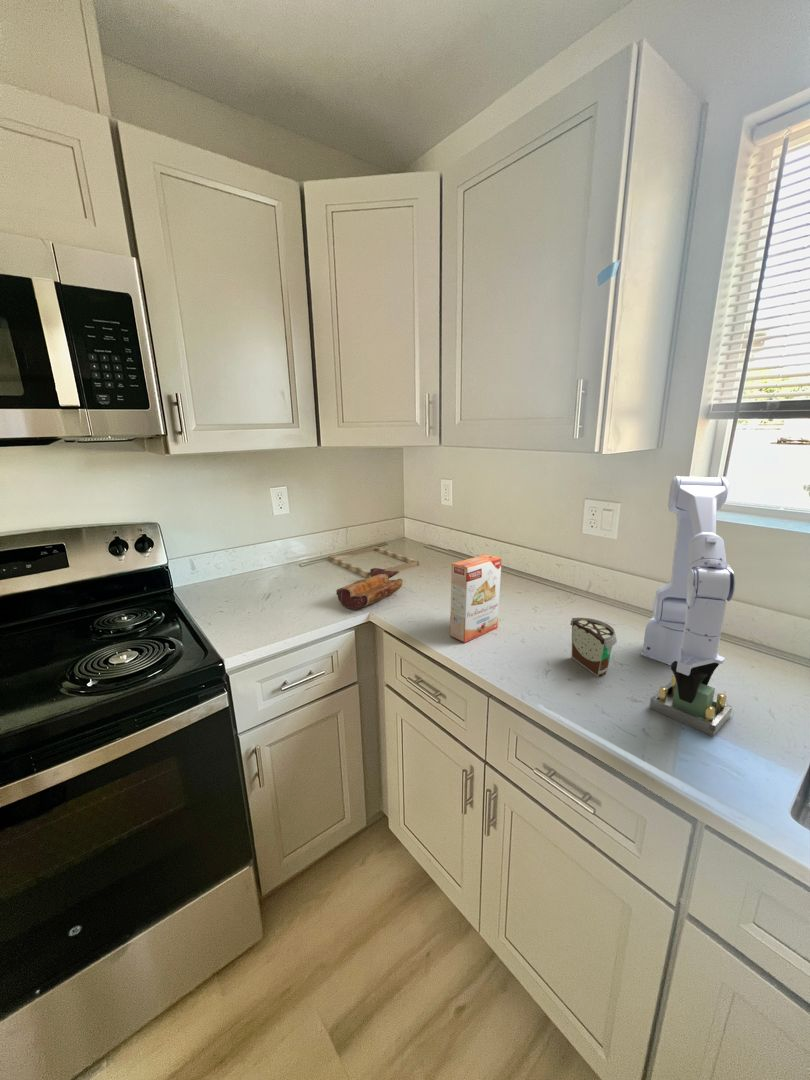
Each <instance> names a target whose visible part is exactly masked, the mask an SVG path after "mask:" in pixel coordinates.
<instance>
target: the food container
mask: <svg viewBox="0 0 810 1080" xmlns="http://www.w3.org/2000/svg"><path fill="white" fill-rule="evenodd" d="M569 626H571V658H572V659H573V660H575V662H576V663H578V664H580V665H581V666H582V667H583V668H585V669H586V670H588V671H589V672H590V673H591V674H593V675H595V676H596V677H597V678H600V677H603V676H605V675H606V674H607V672H608V669H609V668H608V667H609V663H610V659H611V655H612V648H613V646H614V645H616V643H617V634H616V632H615V628H614V627H612V626H611V625H609V623H606V622H604V621H601V620H598V619H595V618H594V619H593V618H590V617H572V618H571V620H570V625H569Z"/></svg>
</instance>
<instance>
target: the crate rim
mask: <svg viewBox="0 0 810 1080" xmlns="http://www.w3.org/2000/svg"><path fill="white" fill-rule="evenodd" d="M373 551H375V552H379V553H381V554H383V555H386V556H389V557H391V558H395V559H398V560H400V561H402V562H405V563H403V564H399V565H394V566H389V567H386V568H384V569H385V571H404V570H408V569H411V568H416V567H417V566H420V561H419V560H416V559H413V558H410V557H407V556H405V555H401V554H399V553H395V552H392V551H389V550H387V549H385V548H380V547H377V546H371V547H365V548H361V549H357V550H352V551H347V552H342V553H337V554H332V555H328V560H329V562H332V563H335V564H336V565H339V566H340V567H343V568H345V569H347V570H349V571H352V572H353V573H356V574H357V575H360V576H361V577H364V578H365V579H366V578H369V577H371V576H370V571H368V570H366V569H364V568H361V567H359V566H356V565H354V564H352V563H349V562H346V561H345V560H342V559H343V558H347V557H353V556H356V555H361V554H365V553H370V552H373Z"/></svg>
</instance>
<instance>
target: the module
mask: <svg viewBox="0 0 810 1080" xmlns="http://www.w3.org/2000/svg"><path fill="white" fill-rule="evenodd" d="M715 690H716V688H715V687H712V686H709V685H705V684H702V683H701V684H700V686H699V688H698V691H697V693H696V696H695V699H694V700H693V702H692V703H688V702H686V701H683V700H681V699H679V694H678V687H677V682H676V683H675V690H674V696H673V703H672V705H673V706H675V707H678V708H680V709H682V710H685V711H687V712H689V713H692V714H694V715H696V716H699V717H701V718H703V719H704V715H705V709H706V706H707V705H710V706H712V702H713V699H714V695H715Z"/></svg>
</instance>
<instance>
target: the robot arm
mask: <svg viewBox="0 0 810 1080" xmlns="http://www.w3.org/2000/svg"><path fill="white" fill-rule="evenodd" d="M728 493H729V481H728V480H727V478H725V477H724V476H720V477H711V476H710V477H708V476H706V477H704V476H701V477H700V476H679V475H676V476H674V477H673V478H672V479H671V482H670V486H669V493H668V504H667V506H668V511H669V512H671V513H673V514H676V515H675V516H676V522H677V523H676V533H675V534H676V535H675V540H674V541H675V542H674V550H673V558H672V566H671V567H672V568H671V574H670V575H671V577H670V582H668V583H666V584H664V585H662V586H660V587H658V588H656V589H657V590H655V591H656V592H655V596H654V599H653V604H652V617H651V618H650V619H649V620H648V622H647V624H646V627H645V630H644V638H643V644H642V652H640V654H641V656H644V657H647V658H648V659H652V660H655V661H656V662H657V661H658V662H660V663H662V664H666V665H668V666H670V669H671V671H672V673H673V676H675V678H676V681H677V687H678V694H679V699H681V700H683V701H686V702H688V703H692V702H693V700H694V699H695V696H696V693H697V691H698V688H699V686H700V684H701V683H702V684H705V685H707V686H709V685H708V684H709V683H710V680H711V678H712V676H713V673H714V672H715V670H716V669H717V668H718V667H719V665H722V664H724V662H725V660H726V658H725V657H724V656H722V655H719V650H720V649H719V648H720V644H721V643H720V641H721V637H722V630H723V625H724V618H725V614H726V613H725V612H726V607H727V602H731V601H732V599H733V597H734V593H735V589H736V577H735V576H736V575H735V572H734V570H733V569H732V568H731V566H732V565H730V564H728V563H727V555H726V546H725V541H724V538H722V537H721V536H720V535H718V534H717V512H718V511H719V510H721V509H722V507H723V505H724V504H725V503H726V501H727V498H728Z"/></svg>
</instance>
